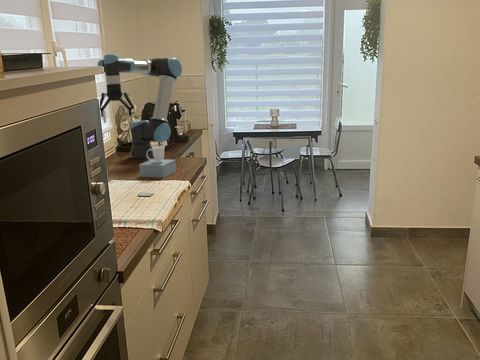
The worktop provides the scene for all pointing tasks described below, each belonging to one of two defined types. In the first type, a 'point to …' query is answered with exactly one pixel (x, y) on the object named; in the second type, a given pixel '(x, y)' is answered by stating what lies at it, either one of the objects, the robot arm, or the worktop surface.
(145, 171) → the slate box
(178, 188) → the worktop surface
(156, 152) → the cup
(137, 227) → the worktop surface
